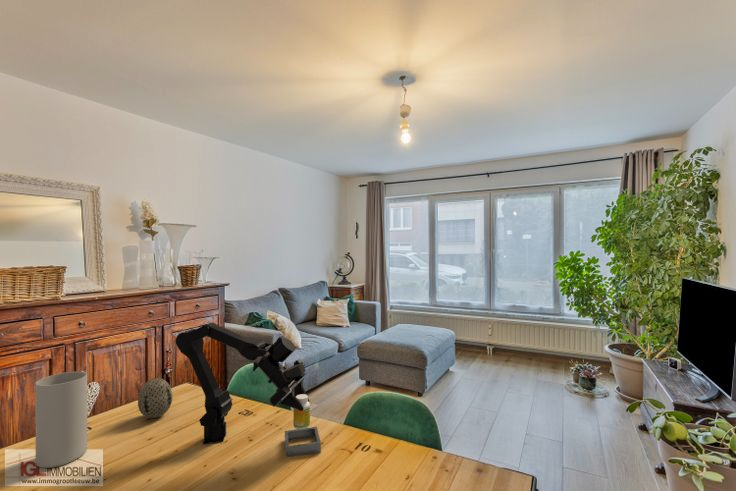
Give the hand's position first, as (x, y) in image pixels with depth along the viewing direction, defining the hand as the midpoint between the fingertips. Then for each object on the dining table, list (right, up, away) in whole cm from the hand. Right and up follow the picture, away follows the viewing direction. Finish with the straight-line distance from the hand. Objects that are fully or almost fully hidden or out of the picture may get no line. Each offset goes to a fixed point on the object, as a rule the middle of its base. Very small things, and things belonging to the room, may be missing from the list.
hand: (305, 406), depth 119 cm
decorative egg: (-63, -14, +22) cm, 68 cm away
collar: (-1, -13, 0) cm, 13 cm away
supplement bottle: (-1, -7, 0) cm, 7 cm away
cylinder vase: (-76, -14, -5) cm, 78 cm away
